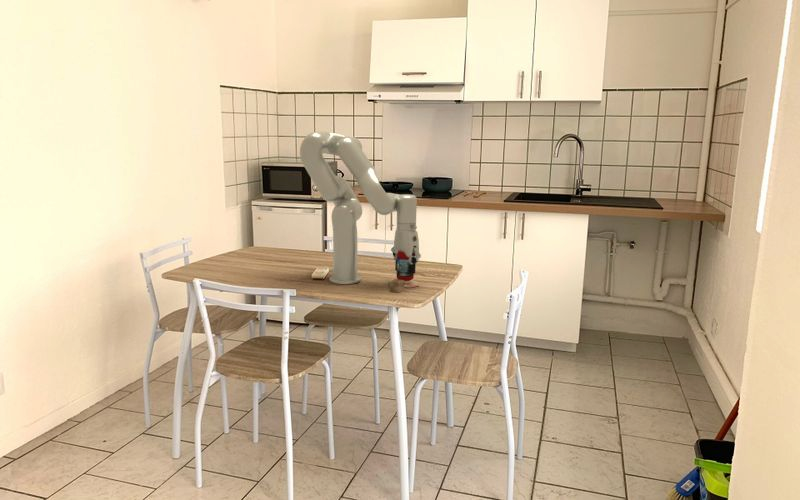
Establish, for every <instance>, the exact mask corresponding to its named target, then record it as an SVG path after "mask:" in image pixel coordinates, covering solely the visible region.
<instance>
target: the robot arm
mask: <svg viewBox="0 0 800 500" xmlns="http://www.w3.org/2000/svg"><path fill="white" fill-rule="evenodd" d="M323 154H327V155H332V156H337V157H338V158H340V160H341V161H342V163H343V164H344V166H345V167H346V168H347V169H348V171H349V173H351V174H352V176H353V177H354V179H355V180H356V183H357V185H358V187H359V188H360V191H361V193H362V194H363V196H364V198H365V200H367V202H368V203H369V204H370V206H371V207H372V208H373V210H374V211H375V212H376V213H377V214H379V215H382V216H387V215H389V214H391V213H393V212H396V228H395V233H394V239H393V246H392V247H391V249H390V251H391V253H392V256H393V259H394V261H395V263H394V264H395V269H394V270H395V271H396V272H397V253H398V251H399V250H400V251H404V253H405V254H406V256H407V257H409V258H408V259H409V263H410V264H409V265H408V274H414V275H415V274H416V268H417V267H416V264H417V263H418V262H419V260H420V258H422V255H421V253H420V243H419V242H420V238H419V234H418V230H417V228H418V226H417V209H418V208H417V205H418V203H417V202H418V201H417V196H416V195H414V194H410V193H409V194H408V193H407V194H398V193H392V192H386V191H385V189H384V188H383V186H382V185H381V183H380V182H379V179H378V177H377V171H376V168H375V165H373V163H372V162H371V160H370V159H369V158H368V156H367V155H366V154H365V152H364V151H363V145H362V143H361V140H359V139H358V138H357V137H355V136H350V135H344V134H339V133H333V132H329V131H313V132H310V133H308V134H307V135H306V136H305V137H304V139H303V140H302V142H301V145H300V147H299V157H300V160H301V163H302V166H303V167H304V168H305V170H306V173H307V174H308V175H309V177H310V179H311V181H312V182H313V184H314V186H315V187H316V190H317V192H319V194H320V196H321V198H322V199H323V200H325V201H326V202H329V203H331V202H332V203H333V205H334V207H333V208H332V212H331V224H332V225H331V226H332V245H333V249H332V250H333V251H332V252H333V257H332V258H333V261H332V263H333V264H332V265H333V266H332V268H330V269H329V272H331V273H332V275H331V276H330V277H329V282H331V284H332V283H333V284H337V285H338V284H339V285H353V284H357V283H360V282H361V281H362V277H361V276H360V275H358V244H359V243H358V226H357V221H359V219H361V217H362V215H363V207H362V206H363V205H362V204H361V202H360V200H359V199H358V197H357V195H356V194H355V192H354V190H353V189H352V187H351V186H350V184H349V182H348V181H347V180H346V178H344V177H342V176H340V175H336V174H335V173H334V172H333V170H332V168H331V166H330V164H329V163H328V162H327V160H326V159H325V158H324V156H323ZM412 254H413V256H412ZM412 258H413V260H412Z"/></svg>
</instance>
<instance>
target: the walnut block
mask: <svg viewBox="0 0 800 500" xmlns="http://www.w3.org/2000/svg"><path fill="white" fill-rule="evenodd" d="M404 291H405V288H404V280H399V279H397V278H395V279H391V280H390V281H389V292H391V293H396V294H400V293H402V292H404Z"/></svg>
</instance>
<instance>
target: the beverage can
mask: <svg viewBox="0 0 800 500" xmlns="http://www.w3.org/2000/svg"><path fill="white" fill-rule="evenodd" d="M412 256H413V254H412ZM408 258H409V257H407V256H406V254H405V253H404V251H400V250H399V251H398V253H397V271H396V279H398V280H404V281H411V280H413V279H414V275H415V274H408V265H409V264H410V263H409V259H408ZM412 260H413V258H412Z"/></svg>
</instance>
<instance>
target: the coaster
mask: <svg viewBox="0 0 800 500" xmlns="http://www.w3.org/2000/svg"><path fill="white" fill-rule="evenodd" d="M418 286H419V282H418V281H417V280H413V279H412V280H411V281H404V289H405V288H406V289H407V288H408V289H409V288H415V287H418Z"/></svg>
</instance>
